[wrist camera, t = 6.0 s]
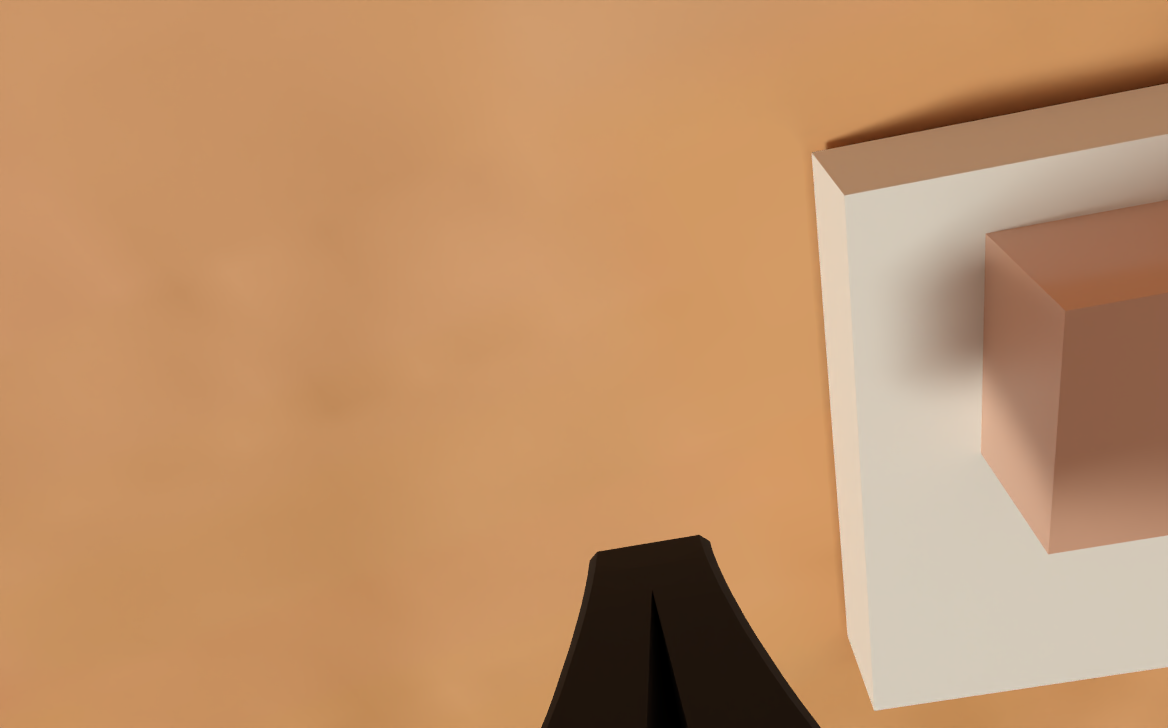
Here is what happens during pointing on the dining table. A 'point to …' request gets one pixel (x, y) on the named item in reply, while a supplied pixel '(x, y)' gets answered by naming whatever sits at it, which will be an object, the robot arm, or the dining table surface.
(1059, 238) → the terracotta tile
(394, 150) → the dining table surface
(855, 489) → the white board
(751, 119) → the dining table surface
